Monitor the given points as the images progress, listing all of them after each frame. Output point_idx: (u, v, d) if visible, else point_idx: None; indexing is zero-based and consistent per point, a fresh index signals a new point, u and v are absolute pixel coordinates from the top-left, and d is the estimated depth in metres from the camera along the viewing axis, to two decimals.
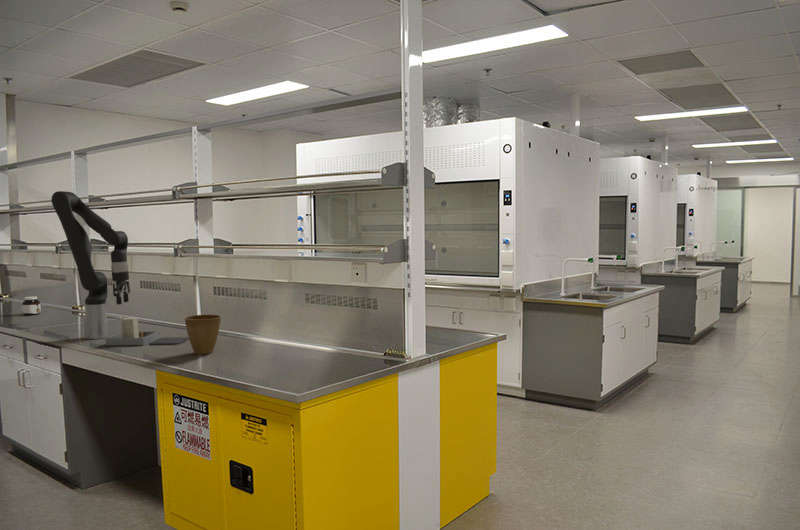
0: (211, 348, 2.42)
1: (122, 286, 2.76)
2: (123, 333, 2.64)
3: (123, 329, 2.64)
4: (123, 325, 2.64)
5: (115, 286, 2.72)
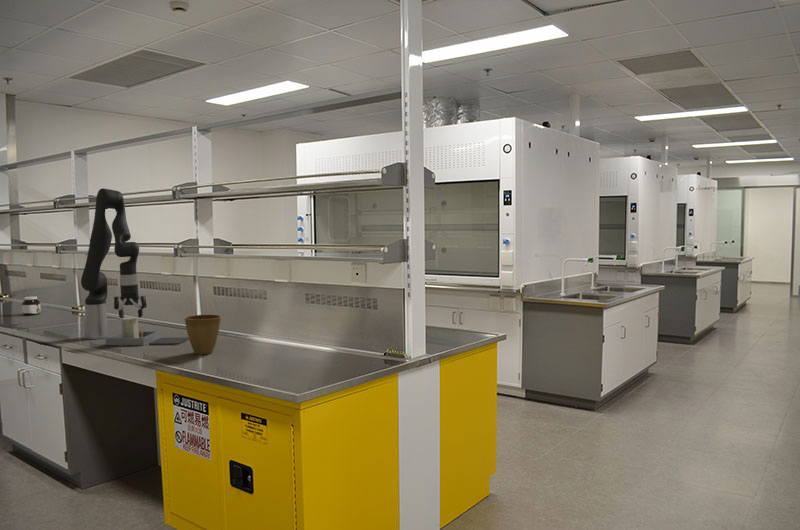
0: (211, 348, 2.42)
1: None
2: (123, 333, 2.64)
3: (123, 329, 2.64)
4: (123, 325, 2.64)
5: (144, 298, 2.65)
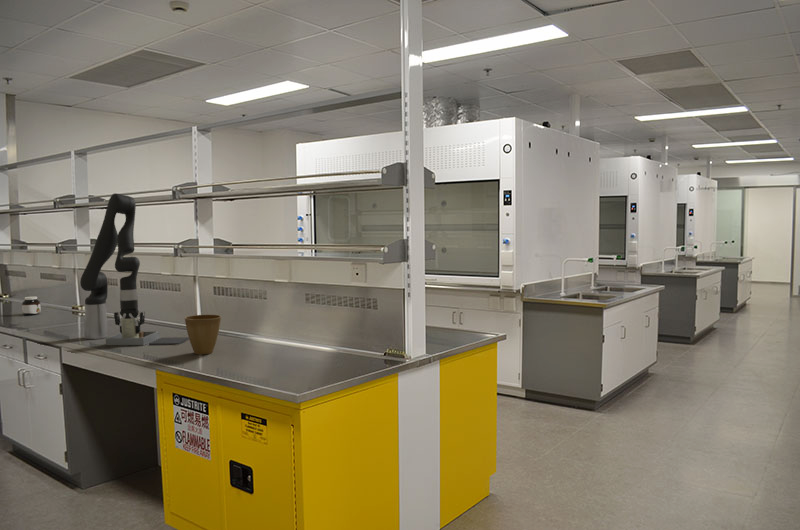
0: (211, 348, 2.42)
1: None
2: (123, 333, 2.64)
3: (123, 329, 2.64)
4: (123, 325, 2.64)
5: (143, 314, 2.65)
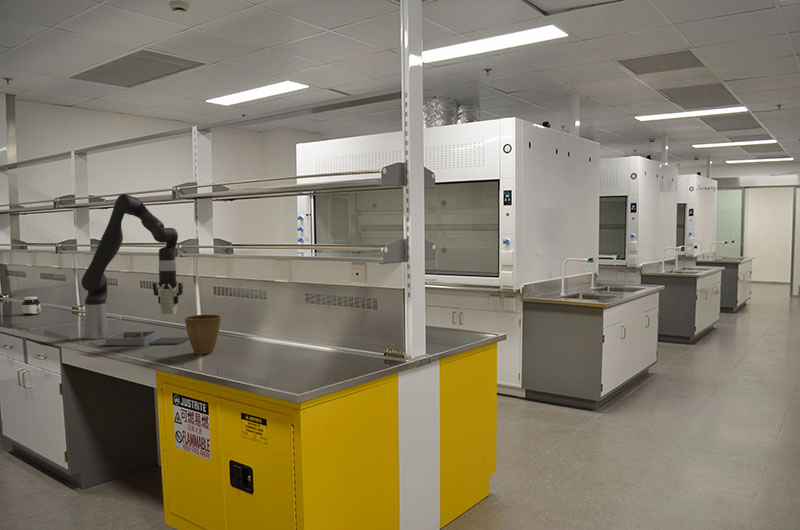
0: (211, 348, 2.42)
1: None
2: (162, 304, 2.65)
3: (162, 299, 2.65)
4: (162, 295, 2.65)
5: (182, 285, 2.67)
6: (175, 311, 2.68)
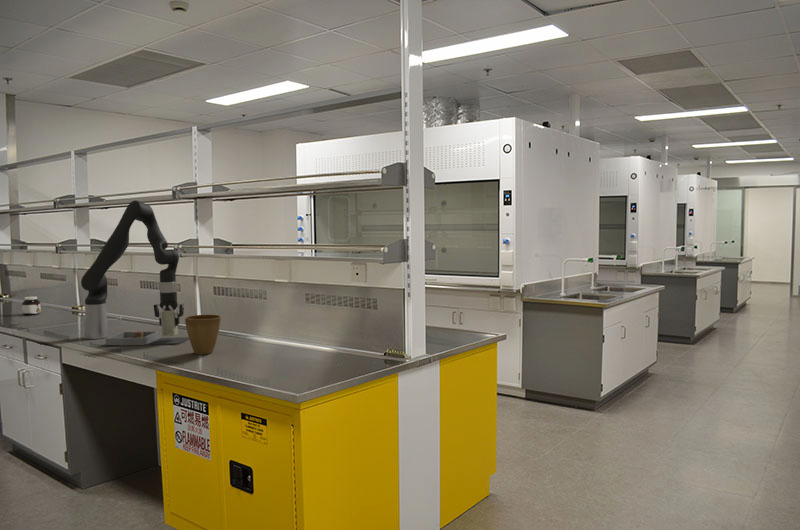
0: (211, 348, 2.42)
1: None
2: (163, 325, 2.66)
3: (163, 321, 2.66)
4: (163, 317, 2.66)
5: (182, 306, 2.67)
6: (176, 332, 2.68)
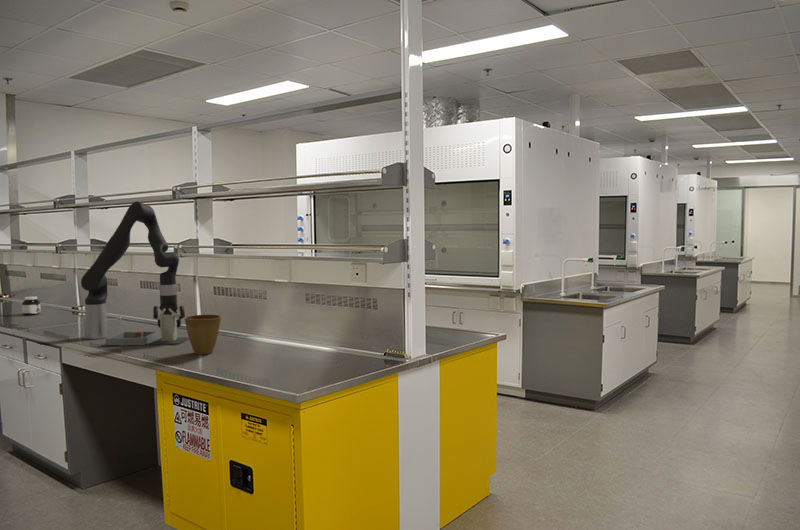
0: (211, 348, 2.42)
1: None
2: (162, 330, 2.66)
3: (162, 326, 2.66)
4: (162, 322, 2.66)
5: (183, 308, 2.67)
6: (175, 337, 2.68)
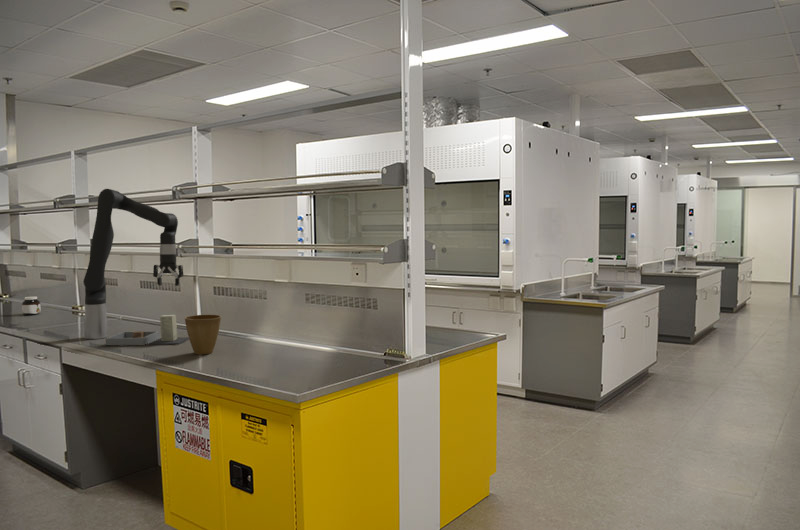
0: (211, 348, 2.42)
1: None
2: (162, 330, 2.66)
3: (162, 326, 2.66)
4: (162, 322, 2.66)
5: (181, 267, 2.78)
6: (175, 337, 2.68)
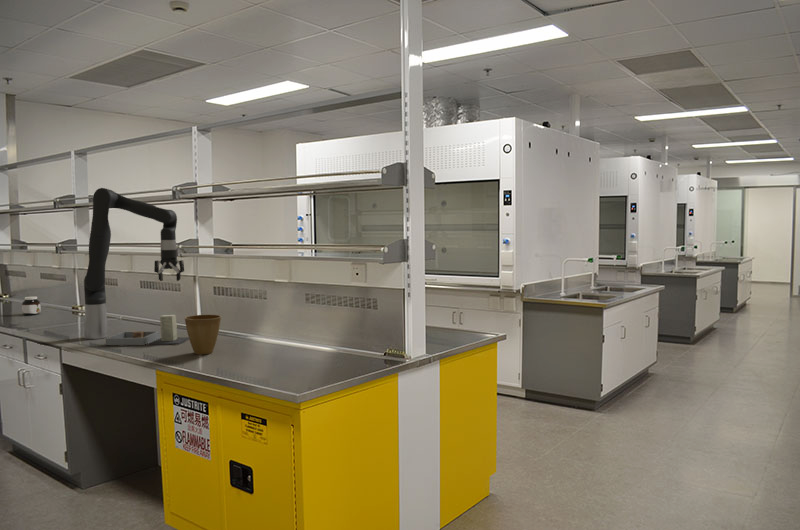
0: (211, 348, 2.42)
1: None
2: (162, 330, 2.66)
3: (162, 326, 2.66)
4: (162, 322, 2.66)
5: (182, 262, 2.83)
6: (175, 337, 2.68)
